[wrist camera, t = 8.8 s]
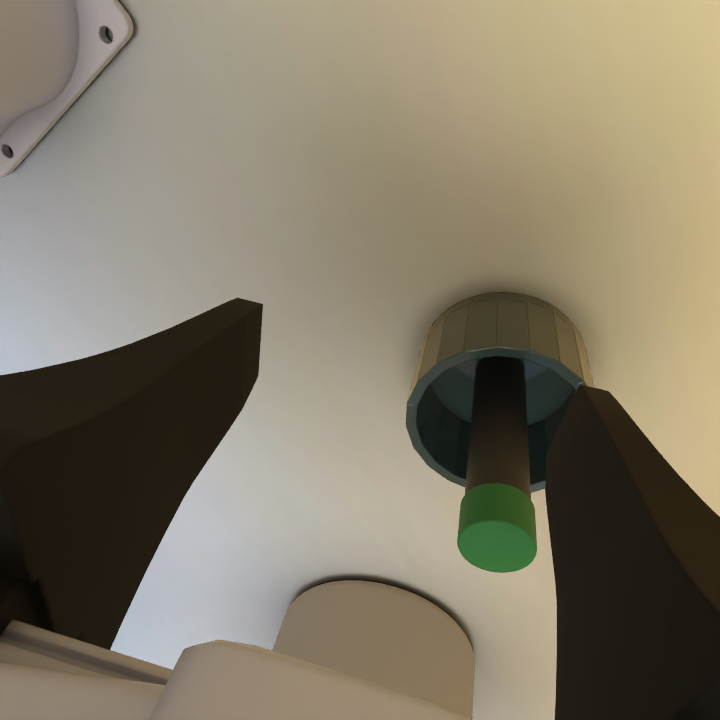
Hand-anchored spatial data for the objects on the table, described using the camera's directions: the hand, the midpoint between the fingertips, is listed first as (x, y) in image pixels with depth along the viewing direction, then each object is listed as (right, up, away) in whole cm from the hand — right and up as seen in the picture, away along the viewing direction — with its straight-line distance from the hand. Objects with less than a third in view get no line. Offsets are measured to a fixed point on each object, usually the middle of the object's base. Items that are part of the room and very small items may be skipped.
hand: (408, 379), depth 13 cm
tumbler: (+5, 0, +11) cm, 12 cm away
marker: (+5, 0, +11) cm, 12 cm away
